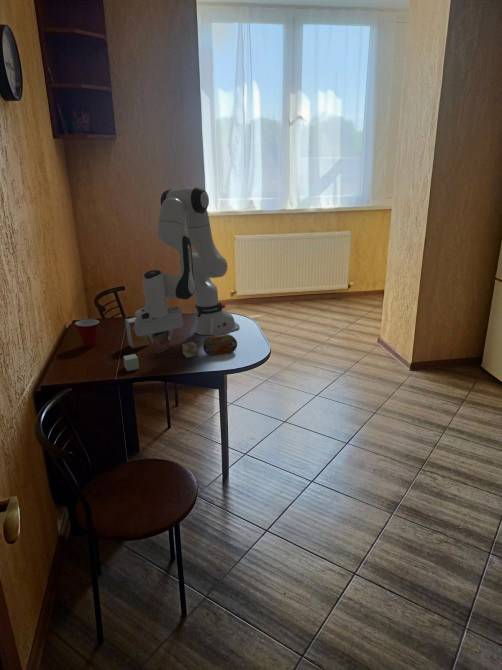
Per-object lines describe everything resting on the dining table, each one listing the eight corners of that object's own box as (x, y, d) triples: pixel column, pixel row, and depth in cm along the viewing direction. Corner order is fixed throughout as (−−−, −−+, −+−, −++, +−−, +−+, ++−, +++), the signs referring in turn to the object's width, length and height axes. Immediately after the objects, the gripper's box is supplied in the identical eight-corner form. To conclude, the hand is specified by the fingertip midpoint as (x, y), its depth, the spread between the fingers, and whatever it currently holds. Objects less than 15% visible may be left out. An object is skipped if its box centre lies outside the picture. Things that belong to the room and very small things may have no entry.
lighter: (159, 353, 195) (156, 331, 191) (153, 352, 196) (149, 329, 193) (171, 346, 201) (169, 324, 197) (165, 345, 203) (163, 323, 199)
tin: (204, 356, 204) (202, 339, 201) (203, 354, 207) (201, 336, 204) (237, 352, 207) (236, 335, 204) (236, 350, 210) (235, 332, 207)
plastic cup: (107, 344, 225) (103, 320, 221) (86, 351, 218) (82, 326, 213) (95, 339, 232) (91, 316, 228) (75, 345, 225) (70, 322, 220)
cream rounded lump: (193, 351, 211) (192, 341, 209) (197, 355, 206) (196, 345, 205) (183, 354, 209) (182, 343, 207) (186, 358, 204) (185, 347, 203)
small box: (133, 349, 217) (129, 322, 213) (128, 345, 222) (124, 319, 218) (149, 344, 221) (146, 318, 217) (144, 341, 226) (141, 315, 222)
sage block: (136, 364, 200) (135, 353, 198) (139, 368, 196) (137, 357, 194) (124, 367, 198) (123, 356, 196) (127, 371, 194) (125, 360, 192)
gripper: (178, 303, 199) (182, 334, 204) (131, 312, 191) (136, 344, 196) (183, 307, 194) (187, 338, 199) (134, 317, 186) (139, 349, 191)
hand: (161, 341), depth 197 cm, fingers closed on lighter, 5 cm apart
